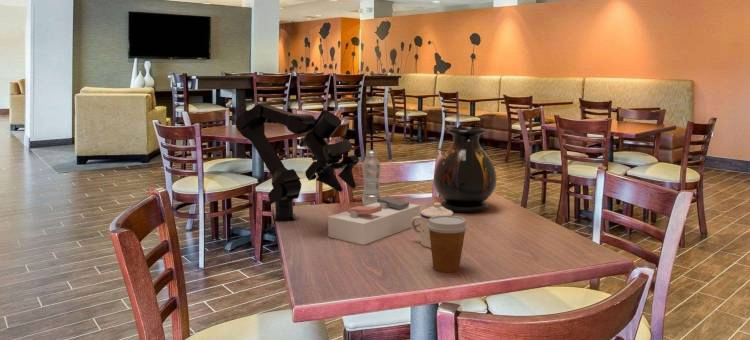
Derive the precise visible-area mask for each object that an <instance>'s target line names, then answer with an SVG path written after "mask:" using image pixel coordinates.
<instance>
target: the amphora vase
mask: <svg viewBox="0 0 750 340" xmlns="http://www.w3.org/2000/svg"><path fill="white" fill-rule="evenodd" d="M447 133H449V134H451V135H452V139H453V140H452V144H450V147H449V148H447V150H446V151H445V152H444V153H443V154H442V155H441V156H440V158H439V160H438V161H437V163H436V167H435V169H434V174H433V185H434V189H435V190H436V192H437V194H438V196H440V197H441V198H442V199H441V201H440V203H441V206H442V207H444V208H446V209H448V210H451V211H452V212H453V213H465V214H466V213H472V214H473V213H479V212H482V211H485V210H486V209H487V208H488V206H489V203H488V202H487V200H488V198H490V196H492V194H493V193H494V192H495V190H496V185H497V173H496V169H495V165H494V163H493V160H492V159H491V158H490V156H489V155H488V154H487V152H486V151H485V150H484V149H483V147H481V144H480V142H479V140H480V137H481V135H483V134H486V130H485V129H484V128H482V127H475V126H454V127H449V128H447Z"/></svg>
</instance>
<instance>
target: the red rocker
mask: <svg viewBox="0 0 750 340" xmlns="http://www.w3.org/2000/svg"><path fill="white" fill-rule="evenodd" d="M347 211H348V213H351V211H354V212H358V214H373V213H376V212H380V211H382V208H381V207H375V206H364V205H357V206H353V207H351V208H347Z"/></svg>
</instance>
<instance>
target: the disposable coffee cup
mask: <svg viewBox="0 0 750 340" xmlns="http://www.w3.org/2000/svg"><path fill="white" fill-rule="evenodd" d="M427 226H428V228H429V233H430V242H431V248H430V250H431V258H432V260H431V261H432V267H433V269H434V270H435V271H438V272H442V273H453V272H457V271H459V270H460V265H461V261H462V260H461V258H462V253H463V252H462V251H463V246H464V239H465V234H466V230H467V228H468V224H467V222H466V219H465V218H464V217H461V216H457V215H454V216H449V215H442V216H434V217H431V218H430V219H429V223H428V224H427Z"/></svg>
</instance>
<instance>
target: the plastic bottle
mask: <svg viewBox="0 0 750 340" xmlns="http://www.w3.org/2000/svg"><path fill="white" fill-rule="evenodd" d="M365 153H366V154H365V157H366V158H365V159H364V160H363V162H362V165H361V169H362V176H363V193H362V198H361V200H362V206H366V205H370V204H373V203H377V198H381V197H382V195H381V189H380V177H381V169H382V168H381V167H382V166H381V163H380V161H379V159H378V152H377V150H374V149H370V150H366V151H365Z"/></svg>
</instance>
